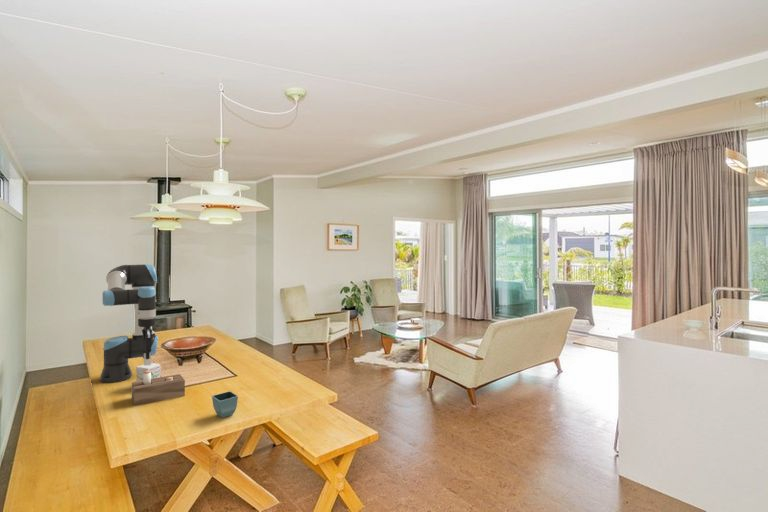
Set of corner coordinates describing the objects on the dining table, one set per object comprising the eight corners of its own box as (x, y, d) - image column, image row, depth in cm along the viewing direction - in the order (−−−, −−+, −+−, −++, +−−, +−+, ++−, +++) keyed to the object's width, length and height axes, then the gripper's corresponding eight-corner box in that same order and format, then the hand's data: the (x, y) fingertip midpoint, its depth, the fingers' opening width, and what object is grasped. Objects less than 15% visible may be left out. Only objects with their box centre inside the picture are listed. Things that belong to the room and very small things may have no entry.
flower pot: (211, 414, 187) (211, 395, 186) (230, 409, 193) (230, 390, 192) (219, 421, 180) (219, 401, 180) (238, 415, 186) (238, 396, 186)
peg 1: (143, 386, 204) (142, 371, 203) (150, 385, 205) (150, 369, 205) (143, 388, 201) (143, 372, 201) (151, 387, 203) (151, 371, 203)
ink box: (147, 390, 215) (147, 368, 214) (135, 388, 218) (135, 366, 217) (161, 385, 223) (161, 364, 223) (149, 383, 226) (149, 362, 225)
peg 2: (165, 393, 210) (165, 377, 209) (172, 391, 212) (172, 376, 211) (166, 394, 207) (166, 379, 207) (173, 393, 209) (173, 378, 209)
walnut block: (131, 397, 205) (131, 382, 204) (179, 388, 218) (179, 374, 218) (134, 405, 195) (134, 389, 195) (184, 395, 208) (184, 380, 208)
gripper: (136, 316, 205) (136, 363, 206) (139, 320, 194) (140, 369, 195) (153, 315, 209) (153, 360, 210) (157, 319, 199) (158, 366, 200)
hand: (147, 364), depth 203 cm, fingers closed
